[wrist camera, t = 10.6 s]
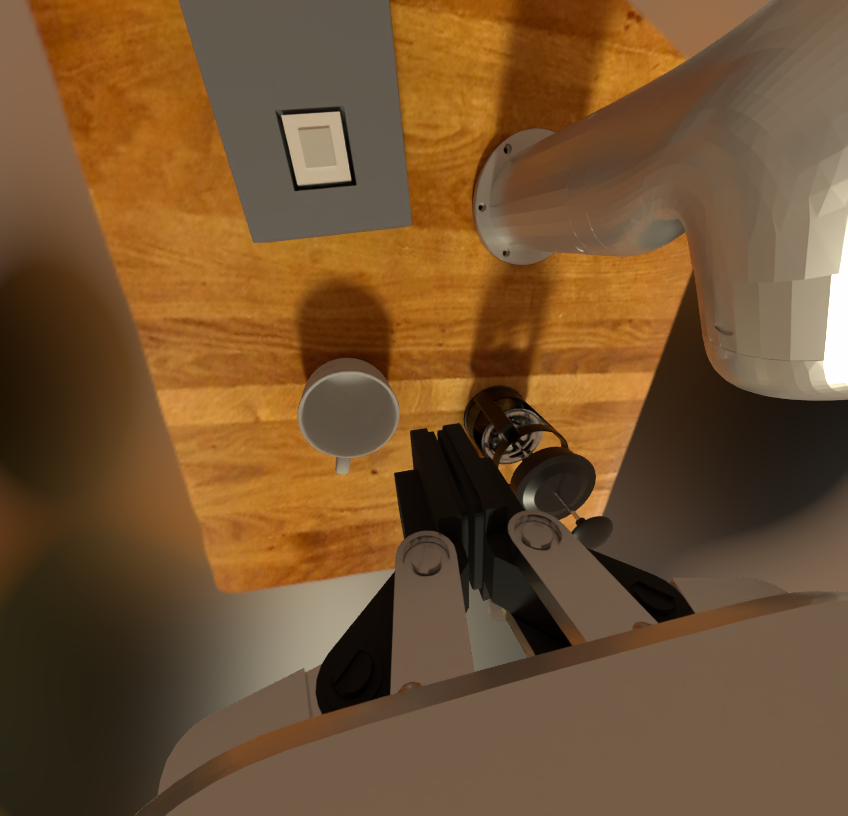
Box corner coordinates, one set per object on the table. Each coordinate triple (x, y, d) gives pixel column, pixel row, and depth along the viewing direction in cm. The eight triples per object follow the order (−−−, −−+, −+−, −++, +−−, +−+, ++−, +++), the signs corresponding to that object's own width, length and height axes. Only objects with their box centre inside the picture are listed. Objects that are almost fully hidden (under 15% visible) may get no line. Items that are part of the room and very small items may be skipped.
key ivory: (340, 123, 28) (339, 110, 26) (351, 184, 30) (351, 179, 28) (287, 127, 28) (280, 114, 25) (302, 189, 30) (297, 184, 27)
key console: (361, -143, 24) (363, -249, 19) (403, 227, 36) (412, 225, 30) (156, -148, 23) (97, -265, 17) (268, 242, 34) (253, 242, 29)
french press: (536, 418, 51) (658, 537, 30) (487, 455, 52) (572, 591, 32) (498, 363, 45) (616, 464, 25) (444, 406, 47) (514, 533, 26)
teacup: (320, 336, 39) (313, 357, 32) (404, 365, 43) (414, 390, 36) (290, 433, 44) (279, 470, 37) (368, 452, 48) (371, 489, 41)
